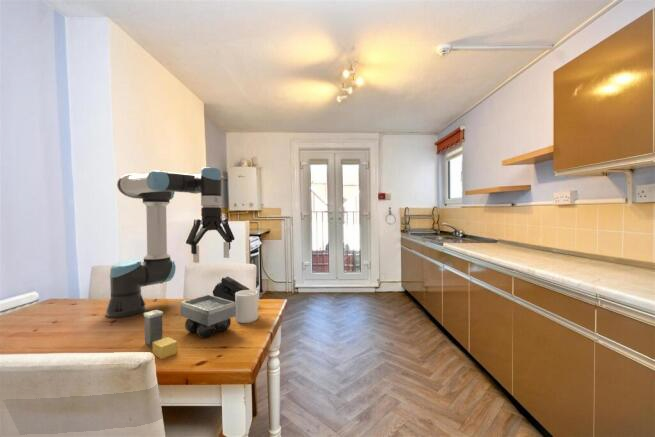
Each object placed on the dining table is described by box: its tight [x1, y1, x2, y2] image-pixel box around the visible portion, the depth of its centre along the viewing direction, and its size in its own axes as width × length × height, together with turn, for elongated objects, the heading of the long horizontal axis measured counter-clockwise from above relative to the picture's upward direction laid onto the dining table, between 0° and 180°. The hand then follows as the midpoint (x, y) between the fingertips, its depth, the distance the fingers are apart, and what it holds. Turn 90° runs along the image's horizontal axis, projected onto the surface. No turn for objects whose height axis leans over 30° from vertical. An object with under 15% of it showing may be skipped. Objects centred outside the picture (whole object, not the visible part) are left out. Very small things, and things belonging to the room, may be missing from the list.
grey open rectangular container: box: [180, 294, 236, 339], centre depth 113 cm, size 18×13×12 cm
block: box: [152, 336, 178, 360], centre depth 96 cm, size 6×5×4 cm
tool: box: [212, 276, 251, 302], centre depth 142 cm, size 6×19×15 cm
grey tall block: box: [143, 309, 164, 347], centre depth 103 cm, size 4×4×11 cm
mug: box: [235, 289, 259, 324], centre depth 127 cm, size 10×12×12 cm
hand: (212, 260), depth 116 cm, fingers open, 13 cm apart
